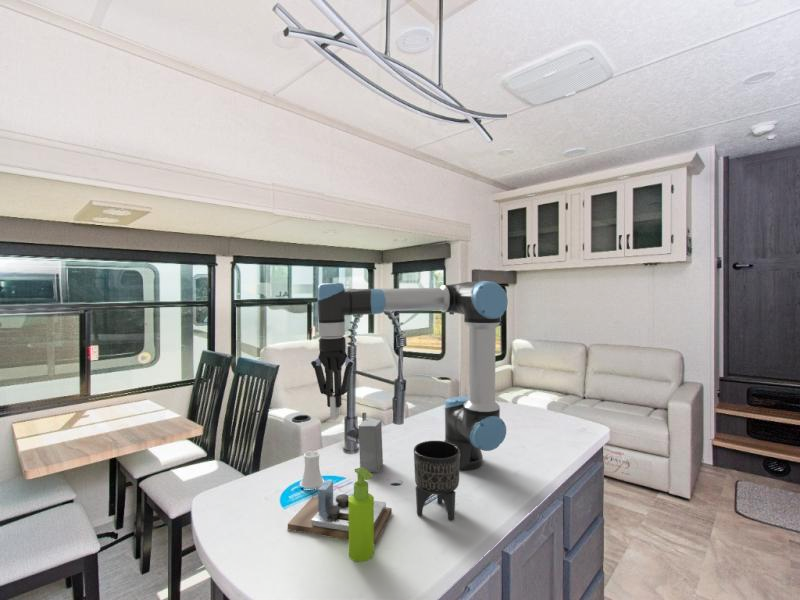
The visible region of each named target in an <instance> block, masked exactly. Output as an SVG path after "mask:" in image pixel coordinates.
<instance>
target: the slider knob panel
mask: <svg viewBox="0 0 800 600" xmlns="http://www.w3.org/2000/svg"><path fill="white" fill-rule="evenodd" d="M317 492H318V493H317V495H318V496H317V497H318V513H317V514H316V515H315V516H314V517H313V518H312V520H311V525H312V526H318V527H324V528H331V529H337V530H343V531H349V521H345V520H339V519H333V518H329V515H328V514H327V508H328V507H329V506H333V505H335V506H339V503H337V502H336V497H337V496H338V495H339V494H338V495H337V494H334V481H332V480H325V481H324V484H323V485H322V486H321V487H320V488H319V489H317ZM346 506H349V500H348V502H346ZM339 507H340V513H339V514H337V517H338V518H344V519H349V507H343V506H339ZM386 507H387V502H385V501H380V500H379V501H378V500H374V528H375V526H376V524H377V523H378V521H379V519H380V517H381V515H382V513H383V512H384V510H385V508H386Z"/></svg>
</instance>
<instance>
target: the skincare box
mask: <svg viewBox="0 0 800 600" xmlns="http://www.w3.org/2000/svg"><path fill="white" fill-rule="evenodd" d="M357 428H358V449H359V468H360V467H362V468H364V469H366V470H367V471H369V472H370V473H379V471H380V469H381V468H382V467H383V466H382V465H383V462H384V458H383V457H384V456H383V455H384V454H383V433H382V431H383V430H382V420H381V419H364V420H363V421H361V422H360V424H359V425H358V427H357Z"/></svg>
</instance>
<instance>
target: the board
mask: <svg viewBox="0 0 800 600" xmlns="http://www.w3.org/2000/svg"><path fill="white" fill-rule="evenodd" d="M349 497H350V496H349V495H348V494H344V493H343V494H338V496H337V497H336V502H337V503H339V506H343V507H349V506H346V502H348V500H349ZM339 506H335V505H333V506H329V507H328V508H327V514H328V515H329V518H333V519H339V520H345V521H349V519H344V518H338V517H337V514H339V513H340V507H339ZM392 511H393V510H392V507H387V506H386V508H385V510H384V512H383V513H382V515H381V517H380V519H379V521H378V523H377V524H376V526H375V528H374V546H375V545H376V544H377V543H378V541H379V540H380V537H381V536H382V534H383V531H384V530H385V527H386V525H387V524H388V521H389V519H390V517H391V516H392V514H393V513H392ZM317 513H318V496H317V497H316V496H312V497H311V498H310V499H309V500H308V501H307V502H306V503H305V504H304V505H303V507H301V508H300V510H298V512H297V513H296V514H295V515H294V516H293V517H292V518H291V519H290V521H288V523H287V530H288V529H290V530H289V531H294V530H296V531H295V532H299V531H301V532H300V533H305V532H306V534H312V535H319V536H324V537H330V538H336V539H342V540H347V541H349V531H343V530H337V529H331V528H324V527H318V526H312V525H311V520H312V518H313V517H314V516H315V515H316V514H317Z"/></svg>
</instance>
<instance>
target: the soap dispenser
mask: <svg viewBox="0 0 800 600" xmlns="http://www.w3.org/2000/svg"><path fill="white" fill-rule="evenodd" d="M354 473H356V475H357V476H356V477H357V481H355V482H354V483H353V494H351V495H350V496H348V497H349V540H348V556H349V559H350V560H353V561H355V562H358V563H359V562H360V563H362V562H367V561H369V560H370V559H372V558H373V556H374V555H375V551H374V550H375V544H374V501H375V499H374V496H373V495H372V494H371V493H369V482H368V480H370V479H373V478H374V476H373V474H372V472H369V471H367V470H366V469H364V468H362V467H360V466H359V467H358V468H355V469H354Z"/></svg>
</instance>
